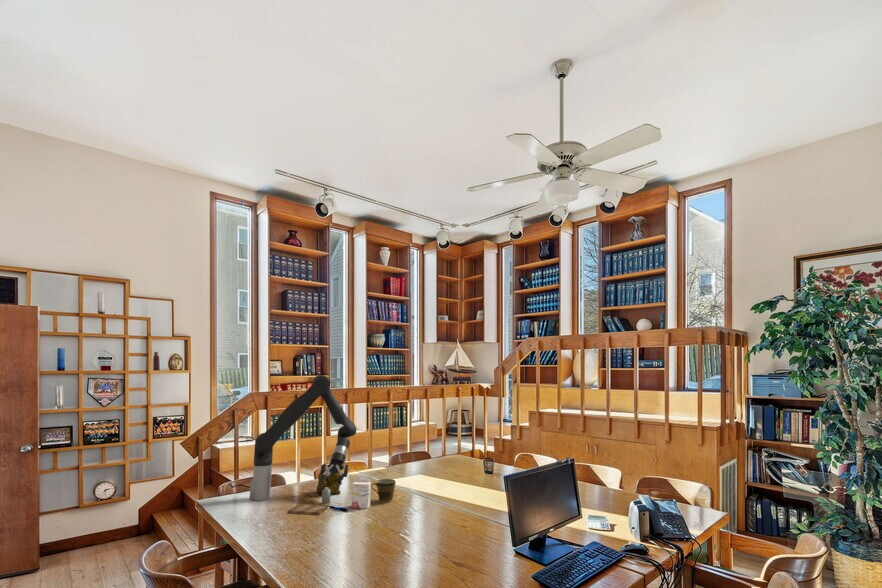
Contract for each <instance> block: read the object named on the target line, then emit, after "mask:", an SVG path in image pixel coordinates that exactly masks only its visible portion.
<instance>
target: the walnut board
mask: <svg viewBox="0 0 882 588" xmlns="http://www.w3.org/2000/svg"><path fill="white" fill-rule="evenodd" d="M328 509H329V506H322V505H315V504H314V505H313V504H297V503H296V504H295V505H294V506H293V507H291V508H290V509H288V510H287V514H296V513H299V515H312V514H315V516H320V515H321V513H322V514H323V513H324V512H325V510H326V511H327V510H328Z"/></svg>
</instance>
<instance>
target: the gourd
mask: <svg viewBox="0 0 882 588" xmlns="http://www.w3.org/2000/svg"><path fill="white" fill-rule="evenodd" d="M322 466H323V464H321V465H320V468H321V469H322ZM321 469H320V470H321ZM327 469H328V468H327ZM327 469H326V470H327ZM326 470H325V471H326ZM329 471H330V470H329ZM343 473H344V472H342V474H343ZM317 476H318V477H317V480H318V481H317V486H316V489H315V491H316V493H317V494H319V495H322V490H323V489H325V487H326V488H328V489H331V492H330V495H341V491H340V487H341V486H342V484H343V480H344V478H345V477H343V478H342V482H341V483H340V484H338V483H337V482H338V478H339V476H340V474H339V473H337V474H335V473H333V474H332V473H331V474H329V475H327V476H326V479H325V482H324V483H322V481H321V479H322V476H321V474H320V473H319V474H318V475H317Z"/></svg>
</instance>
